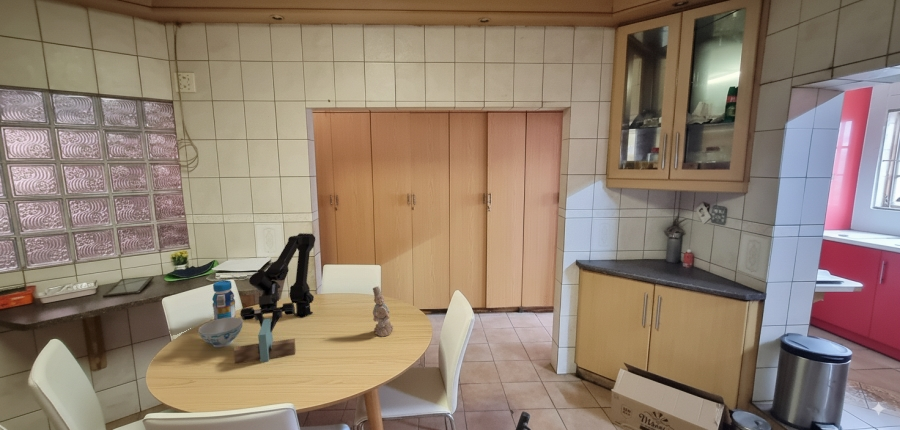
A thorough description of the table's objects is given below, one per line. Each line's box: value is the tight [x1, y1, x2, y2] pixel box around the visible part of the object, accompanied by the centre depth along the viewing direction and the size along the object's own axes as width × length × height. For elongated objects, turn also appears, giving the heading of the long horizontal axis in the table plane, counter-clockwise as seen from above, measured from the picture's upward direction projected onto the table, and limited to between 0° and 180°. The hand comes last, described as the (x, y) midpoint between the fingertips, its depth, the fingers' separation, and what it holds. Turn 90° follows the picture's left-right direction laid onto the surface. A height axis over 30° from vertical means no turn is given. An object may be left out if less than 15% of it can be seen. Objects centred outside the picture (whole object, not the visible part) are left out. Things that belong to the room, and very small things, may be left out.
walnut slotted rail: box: [233, 338, 297, 364], centre depth 131 cm, size 20×3×5 cm, turn 108°
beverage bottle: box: [212, 280, 237, 320], centre depth 157 cm, size 8×8×20 cm
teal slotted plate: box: [257, 317, 274, 363], centre depth 133 cm, size 12×2×11 cm, turn 18°
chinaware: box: [198, 316, 244, 348], centre depth 142 cm, size 15×15×8 cm
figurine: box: [372, 285, 394, 337], centre depth 150 cm, size 9×8×20 cm
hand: (267, 332), depth 135 cm, fingers closed on teal slotted plate, 2 cm apart
